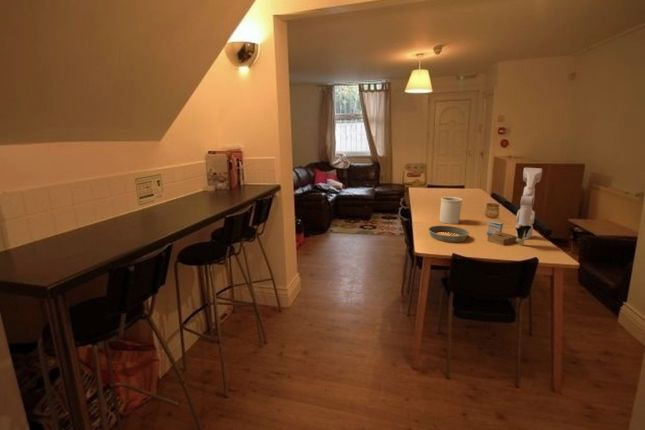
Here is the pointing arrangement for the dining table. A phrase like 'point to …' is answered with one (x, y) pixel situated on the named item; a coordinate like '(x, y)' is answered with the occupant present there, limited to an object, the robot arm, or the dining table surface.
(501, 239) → the hole block
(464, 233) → the cake pan
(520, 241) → the peg
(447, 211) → the utensil holder
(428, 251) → the dining table surface
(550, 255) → the dining table surface
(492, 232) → the medicine box
